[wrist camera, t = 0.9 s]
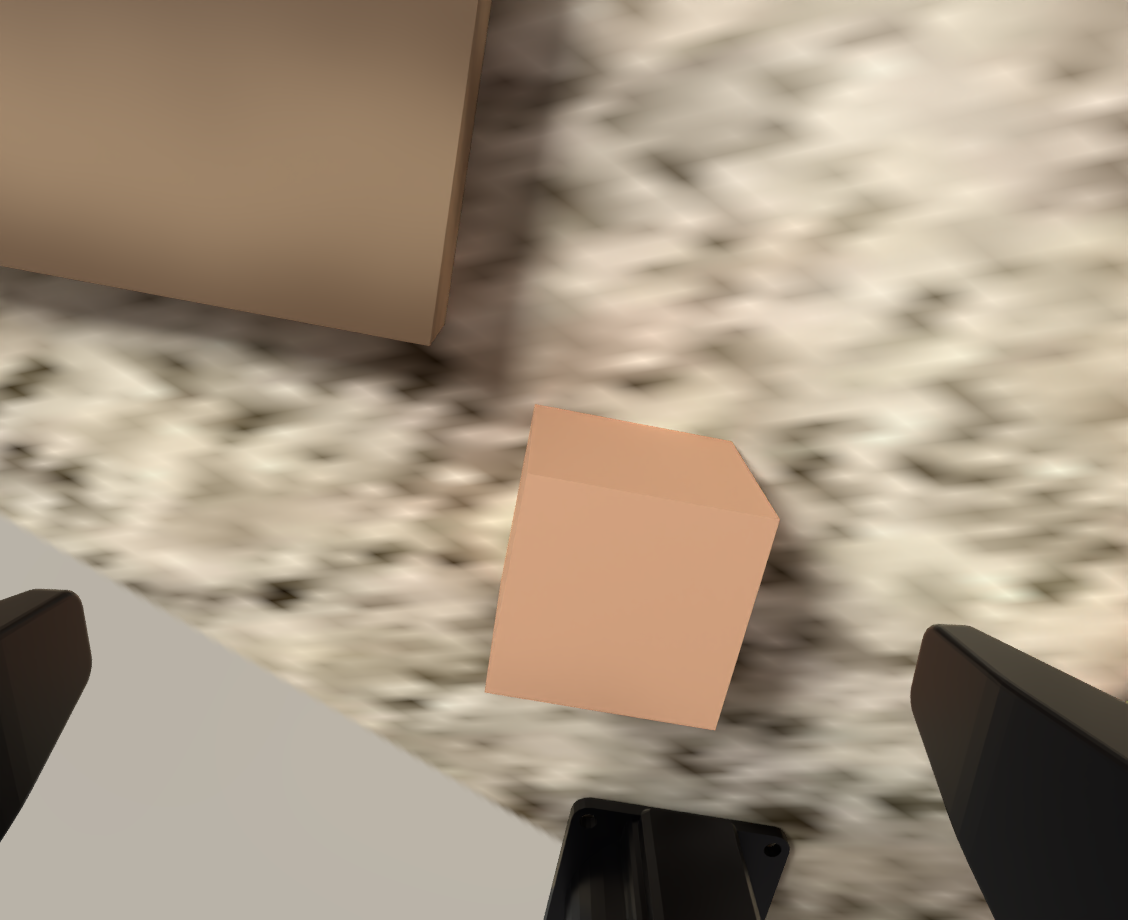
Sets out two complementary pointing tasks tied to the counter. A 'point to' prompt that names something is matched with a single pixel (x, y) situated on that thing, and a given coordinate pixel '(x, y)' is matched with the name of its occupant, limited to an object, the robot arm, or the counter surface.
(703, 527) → the cube
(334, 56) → the base slab
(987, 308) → the counter surface
